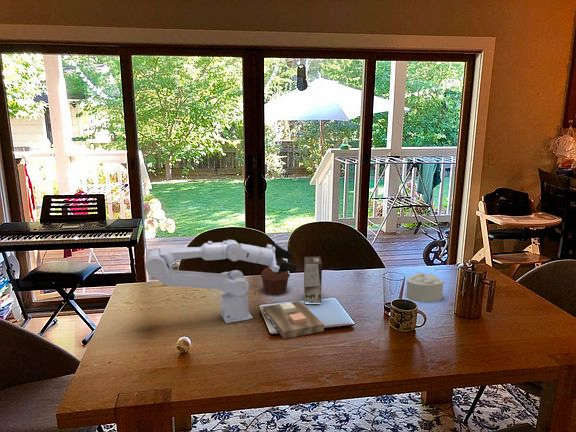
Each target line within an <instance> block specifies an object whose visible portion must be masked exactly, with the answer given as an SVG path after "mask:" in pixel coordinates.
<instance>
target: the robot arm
mask: <svg viewBox="0 0 576 432" xmlns="http://www.w3.org/2000/svg"><path fill="white" fill-rule="evenodd" d="M293 255H294V254H293V252H291V251H288V250H287V249H284V248H282V247H281V246H280V245H279V244H278V243H274V244H273V245H272V244H269V243H267V244H266V246H265V247H261V246H258V245H252V244H245V243H239V242H237V240H235V239H226V240H222V242H220V241H219V242H213V241H212V240H208V241H207V242H204V243H203V244H202V245H201V246H196V247H195V246H189V247H184V246H181V247H178V246H177V247H167V246H162V247H160V248H157V247H156V248H155V247H154V248H153V247H152V248H150V249H149V250H148V251H147V252H146V253H145V266H144V267H145V270H146V272H147V273H148V275H149V276H150V277H151V278H153V279H155V280H157V281H158V282H160V283H161V284H163V285H164V286H166V287H167V286H168V287H180V288H181V287H182V288H184V287H185V288H197V289H213V290H221V291H223V292H225V293H224V294H223V293H222V294H221V295H220V316H221V317H222V319H223V320H224V322H225V324H229V323H236V322H240V321H247V320H251V319H253V316H252V314H251V313H250V312H249V311H250V310H249V289H250V284H249V282H248V280H247V279H246V278H245V275H244V274H243V272H242V271H241V270H238V269H236V270H231V271H224V272H221V273H215V272H203V271H189V270H175V269H173V267H172V265H173V264H174V263H175V262H176V261H178V260H187V259H193V258H194V259H195V258H196V259H197V258H202V259H203V260H204V261H215V260H217V261H218V260H225V259H228V260H229V261H231V262H237V261H244V262H248V263H253V264H260V265H264V266H267V267H270V268H271V269H272V271H273V272H275V273H276V274H280V273H283V272H287V271H288V272H295V271H297V269H298V264H295V263H293V262H289V261H287V260H289V259H290V260H291V259H292V256H293ZM277 259H279V261H277ZM286 259H287V260H286Z"/></svg>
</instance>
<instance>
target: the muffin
mask: <svg viewBox="0 0 576 432" xmlns="http://www.w3.org/2000/svg"><path fill="white" fill-rule="evenodd" d="M290 275H291V274H290V272H289V271H287V272H283V273H280V274H276V273H275V272H273V271H272V269H271V268H270V267H269V266H267V267H266V268H264V269H263V270H262V272H261V274H260V277H261V281H262V286H263V291H264V292H265V294H267V295H271V296H275V295H276V296H278V295H283V294H285V293H286V292H287V288H288V283H289V282H288V281H289V278H290Z"/></svg>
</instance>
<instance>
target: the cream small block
mask: <svg viewBox="0 0 576 432" xmlns="http://www.w3.org/2000/svg"><path fill="white" fill-rule="evenodd" d="M284 303H285V304H283V303H279V309H280V311H281V312H282V313H283V314H286V313H292V312H296V307H295V306H294V305H293V304H292V303H290V302H284Z"/></svg>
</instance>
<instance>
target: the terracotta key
mask: <svg viewBox="0 0 576 432" xmlns="http://www.w3.org/2000/svg"><path fill="white" fill-rule="evenodd" d="M289 321H290V322H291V323H292V324H293V325H297V324H303V323H306V317H305V316H304V315H303V314H302V313H297V314H291V315H289Z"/></svg>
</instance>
